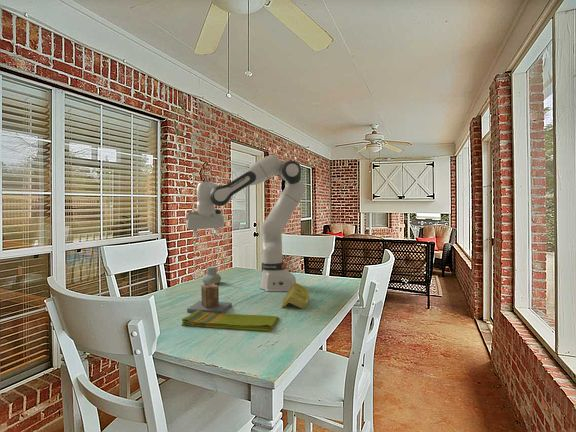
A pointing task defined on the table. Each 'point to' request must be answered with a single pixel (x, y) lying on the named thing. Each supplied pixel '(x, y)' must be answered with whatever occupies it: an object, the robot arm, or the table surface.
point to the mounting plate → (219, 309)
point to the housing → (210, 295)
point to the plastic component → (296, 296)
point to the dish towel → (230, 321)
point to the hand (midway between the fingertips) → (205, 236)
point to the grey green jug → (211, 275)
